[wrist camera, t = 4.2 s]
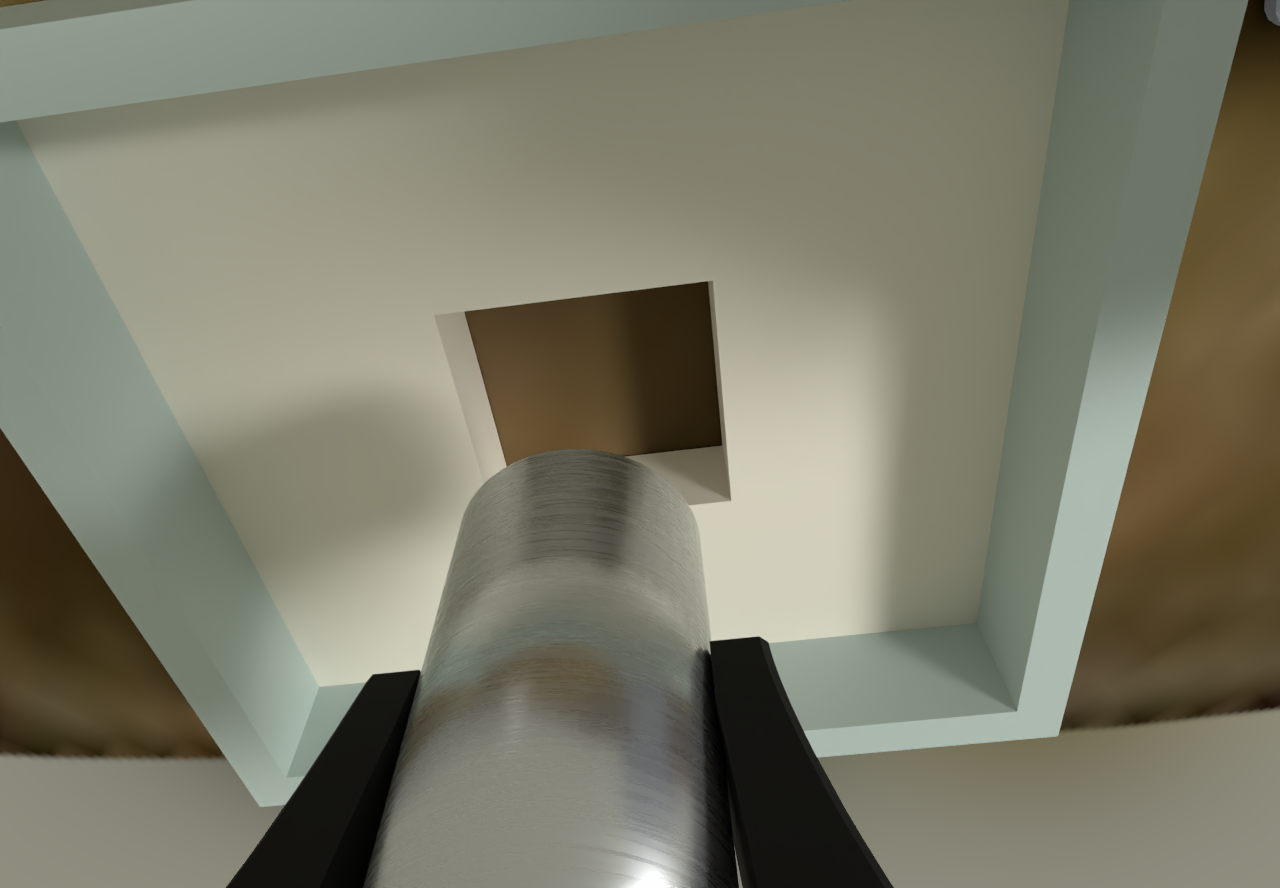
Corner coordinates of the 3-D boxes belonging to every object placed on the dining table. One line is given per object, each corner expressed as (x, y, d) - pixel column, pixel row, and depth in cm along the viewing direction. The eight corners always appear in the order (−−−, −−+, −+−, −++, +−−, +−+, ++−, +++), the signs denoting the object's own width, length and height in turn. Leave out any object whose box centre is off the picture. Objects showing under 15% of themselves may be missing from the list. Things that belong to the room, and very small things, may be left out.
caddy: (1099, -160, 13) (1290, -166, 9) (985, 587, 22) (1057, 735, 18) (-17, 9, 14) (-249, 66, 10) (318, 654, 23) (260, 806, 19)
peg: (690, 436, 12) (754, 997, 6) (708, 624, 13) (769, 1186, 8) (432, 462, 12) (235, 1029, 6) (487, 644, 14) (381, 1207, 8)
